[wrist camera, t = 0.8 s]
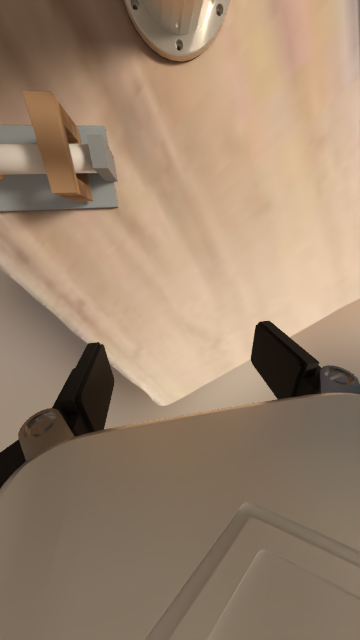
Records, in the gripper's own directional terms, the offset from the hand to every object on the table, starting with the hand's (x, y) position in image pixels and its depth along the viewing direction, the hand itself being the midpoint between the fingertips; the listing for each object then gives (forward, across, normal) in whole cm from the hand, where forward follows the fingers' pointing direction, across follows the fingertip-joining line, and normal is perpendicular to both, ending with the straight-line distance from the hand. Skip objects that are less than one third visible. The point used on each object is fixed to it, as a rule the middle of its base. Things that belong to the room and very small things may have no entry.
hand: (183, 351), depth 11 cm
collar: (+24, +10, -14) cm, 29 cm away
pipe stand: (+26, +16, -14) cm, 33 cm away
